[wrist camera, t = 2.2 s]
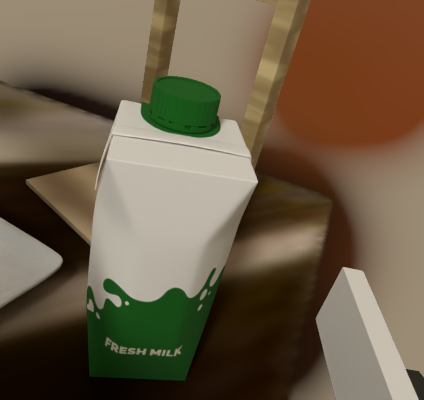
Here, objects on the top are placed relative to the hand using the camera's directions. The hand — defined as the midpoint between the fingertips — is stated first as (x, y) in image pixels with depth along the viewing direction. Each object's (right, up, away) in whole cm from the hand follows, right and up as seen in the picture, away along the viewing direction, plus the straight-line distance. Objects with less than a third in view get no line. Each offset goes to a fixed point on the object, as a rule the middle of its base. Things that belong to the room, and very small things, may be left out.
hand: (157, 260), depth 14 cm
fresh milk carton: (-4, -9, +18) cm, 20 cm away
